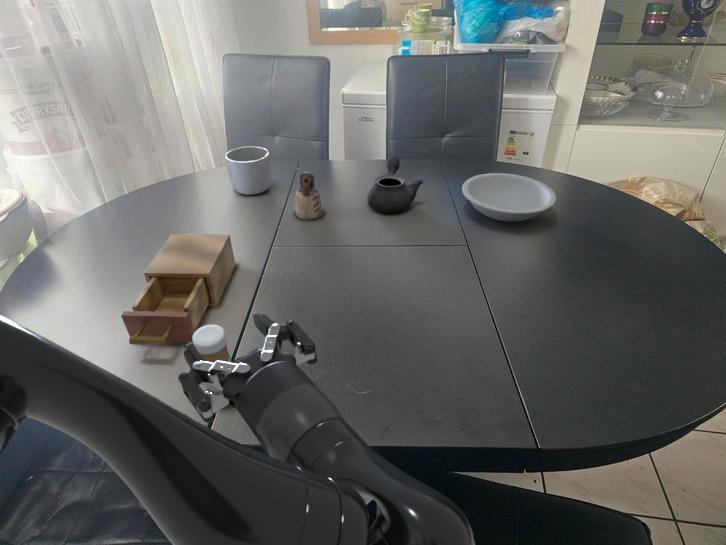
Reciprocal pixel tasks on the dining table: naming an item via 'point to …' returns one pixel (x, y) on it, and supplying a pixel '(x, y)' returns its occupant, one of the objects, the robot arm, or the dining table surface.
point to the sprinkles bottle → (212, 347)
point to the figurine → (308, 198)
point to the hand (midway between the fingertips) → (224, 333)
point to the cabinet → (196, 261)
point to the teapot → (392, 190)
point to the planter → (249, 169)
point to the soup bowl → (508, 196)
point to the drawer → (167, 310)
